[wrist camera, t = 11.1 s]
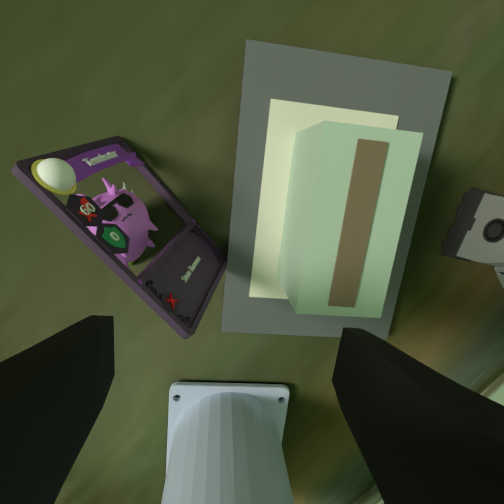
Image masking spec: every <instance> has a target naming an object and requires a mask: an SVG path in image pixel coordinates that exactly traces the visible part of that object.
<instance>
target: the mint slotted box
mask: <svg viewBox="0 0 504 504" xmlns="http://www.w3.org/2000/svg"><path fill="white" fill-rule="evenodd" d="M422 137H423V133H419V132H411V131H403V130H396V129H388V128H380V127H372V126H364V125H357V124H349V123H341V122H333V121H323V122H320V123H318V124H316V125H313V126H311V127H308V128H306V129H304V130H301V131H299V132H297V133H295V137H294V145H293V153H292V160H291V168H290V176H289V183H288V191H287V199H286V206H285V214H284V222H283V229H282V237H281V245H280V252H279V260H278V268H277V277H278V279H279V281H280V283H281V285H282V287H283V289H284V291H285V293H286V295H287V297H288V299H289V302H290V304H291V306H292V308H293V310H294V312H295V314H311V315H331V316H350V317H369V318H381V314H382V310H383V305H384V301H385V297H386V292H387V288H388V284H389V280H390V275H391V271H392V267H393V262H394V258H395V254H396V249H397V245H398V241H399V236H400V232H401V228H402V224H403V219H404V215H405V211H406V206H407V202H408V198H409V193H410V189H411V185H412V180H413V176H414V172H415V167H416V163H417V159H418V155H419V150H420V146H421V142H422Z"/></svg>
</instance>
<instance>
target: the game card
mask: <svg viewBox="0 0 504 504" xmlns="http://www.w3.org/2000/svg"><path fill="white" fill-rule="evenodd" d="M123 161H126V162H127V163H128V164H129V165H130V166H131V167H136V168H137V169H138V171H139V172H140V173H141V174H142V175H143V176H144V177H145V178H146V180H147V181H148V182H149V183H150V184H151V185H152V186H153V187H154V188H155V190H156V191H157V192H158V193H159V194H160V195H161V196H162V197H163V198H164V200H165V201H166V202H167V203H168V204H169V205H170V206H171V207H172V209H173V210H174V211H175V212H176V213H177V214H178V215H179V216H180V217H181V219H182V220H183V221H184V222H185V225H184V227H183V228H182V229H181V230H180V231H179V232H178V233H177V234H176V235H175V236H174V237H173V238H172V239H171V241H170V242H169V243H168V244H167V245H166V246H165V247H164V248H163V249H162V250H161V251H160V252H159V254H158V255H157V256H156V257H155V258H154V259H153V260H152V261H151V262H150V263H149V264H148V265H147V266H146V268H145V269H144V270H143V271H142V272H141V273H140V274H139V275H138V276H136V275H135V274H134V273H133V272H132V271H131V270H129V266H130V265H132V264H133V261H135V260H136V259H138V258H139V257H140V256H141V255H142V253H143V252H144V250H145V248H146V246H150V247H155V244H154V243H153V242H152V241H151V240H150V238H149V237H148V230H153V231H157V230H158V229H157V227H156V226H155V225H154V224H153V223H152V222H151V221H150V218H149V214H148V211H147V208H146V206H145V205H144V203H143V202H142V201H141V200H140V199H139V198H137V197H136V196H135V194H134V192H133V190H132V191H131V192H128V191H127V189H126V185H125V183H124V182H123V188H122V189H120V190H119V191H117V188H116V186H115V185H114V184H113V185H111V184H110V182H109V181H108V180H107V179H105V178H102V180H103V181H104V183H105V185H106V188H107V191H108V192H106V193H103V194H100V195H98V196H96V197H95V198H93V199H91V198H90V197H87V196H85V195H83V194H77V195H72V193H74V192H75V190H76V188H77V182H79V181H81V180H83V179H85V178H87V177H88V176H90V175H92V174H94V173H96V172H98V171H100V170H102V169H105V168H107V167H110V166H112V165H115V164H117V163H120V162H123ZM12 173H13V175H14V176H15V177H16V178H17V179H18V180H20V181H21V182H22V183H23V184H24V185H25V186H26V187H27V188H28V189H29V190H30V191H31V192H32V193H33V194H34V195H35V196H36V197H37V198H38V199H39V200H40V201H41V202H42V203H43V204H44V205H45V206H46V207H47V208H48V209H50V210H51V211H52V212H53V213H54V214H55V215H56V216H57V217H58V218H59V219H60V220H61V221H62V222H63V223H64V224H65V225H66V226H67V227H68V228H69V229H70V230H71V231H72V232H73V233H74V234H75V235H76V236H77V237H79V238H80V239H81V240H82V241H83V242H84V243H85V244H86V245H87V246H88V247H89V248H90V249H91V250H92V251H93V252H94V253H95V254H96V255H97V256H98V257H99V258H100V259H101V260H102V261H103V262H104V263H105V264H106V265H107V266H109V267H110V268H111V269H112V270H113V271H114V272H115V273H116V274H117V275H118V276H119V277H120V278H121V279H122V280H123V281H124V282H125V283H126V284H127V285H128V286H129V287H130V288H131V289H132V290H133V291H134V292H135V293H136V294H138V295H139V296H140V297H141V298H142V299H143V300H144V301H145V302H146V303H147V304H148V305H149V306H150V307H151V308H152V309H153V310H154V311H155V312H156V313H157V314H158V315H159V316H160V317H161V318H162V319H163V320H164V321H165V322H166V323H168V324H169V325H170V326H171V327H172V328H173V329H174V330H175V331H176V332H177V333H178V334H179V335H180V336H181V337H182V338H183V339H187V338H189V337H190V336H192V335H193V334H194V333H195V331H196V329H197V327H198V324H199V322H200V320H201V318H202V316H203V314H204V312H205V310H206V308H207V306H208V304H209V302H210V300H211V298H212V295H213V293H214V291H215V289H216V287H217V285H218V283H219V281H220V279H221V277H222V275H223V273H224V271H225V269H226V267H227V256H226V255H225V254H224V252H223V251H222V250H221V249H220V248H219V247H218V246H217V245H216V243H215V242H214V241H213V240H212V239H211V238H210V237H209V235H208V234H207V233H206V232H205V231H204V230H203V229H202V228H201V226H200V225H199V224H198V223H197V222H196V221H195V220H194V218H193V217H192V216H191V215H190V214H189V213H188V212H187V211H186V209H185V208H184V207H183V206H182V205H181V204H180V203H179V201H178V200H177V199H176V198H175V197H174V196H173V195H172V194H171V192H170V191H169V190H168V189H167V188H166V187H165V186H164V185H163V183H162V182H161V181H160V180H159V179H158V178H157V177H156V175H155V174H154V173H153V172H152V171H151V170H150V169H149V168H148V166H147V165H146V164H145V163H144V162H143V161H142V160H141V158H140V157H139V156H138V155H137V154H136V152H134V151H133V149H132V148H131V147H130V146H129V145H128V144H127V143H126V141H125V140H124V139H123V138H122V137H120V136H115V137H111V138H107V139H103V140H99V141H95V142H91V143H87V144H83V145H79V146H75V147H71V148H68V149H64V150H60V151H56V152H52V153H48V154H44V155H40V156H36V157H32V158H28V159H24V160H20V161H18V162H17V163H16V164H15V165H14V167H13V168H12ZM50 191H51V192H53V193H56V194H59V195H70V196H69V198H68V202H67V205H66V206H65V205H64V204H63V203H62V202H61V201H60V200H59V199H58V198H57V197H56V196H54V195H53V194H52V193H51V192H50Z"/></svg>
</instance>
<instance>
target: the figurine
mask: <svg viewBox="0 0 504 504" xmlns="http://www.w3.org/2000/svg"><path fill="white" fill-rule="evenodd" d="M462 201H463V202H464V203H463V205H461V206H460V207H458V209H457V211H456V213H457V215H458V217H457V219H456V221H455V223H454V225H453V226H451V227H450V228H449V229H448V235H449V237H448V238H446V239H445V240H444V241H443V243H442V246H443V250H442V253H441V254H442V255H445V256H449V257H453V258H456V259H461V260H465V261H470V262H471V260H472V261H475V262H479V263H483V264H486V265H492V266H495V267H494V270H495V272H496V274H497V276H498V278H499V281H500V283H501V285H502V287H503V289H504V197H501V196H499V195H496V194H493V193H490V192H487V191H483V190H480V189H476V188H473V187H470V190H469V192H466V193H465V194H464V195H463V197H462Z"/></svg>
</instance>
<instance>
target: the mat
mask: <svg viewBox="0 0 504 504" xmlns="http://www.w3.org/2000/svg"><path fill="white" fill-rule="evenodd" d="M451 76H452V71H446V70H439V69H433V68H426V67H420V66H414V65H407V64H401V63H395V62H388V61H382V60H375V59H369V58H363V57H356V56H350V55H343V54H337V53H331V52H324V51H318V50H312V49H305V48H299V47H292V46H286V45H280V44H273V43H267V42H261V41H254V40H248V39H247V40H246V47H245V58H244V70H243V81H242V93H241V104H240V116H239V127H238V139H237V150H236V162H235V173H234V185H233V196H232V208H231V219H230V231H229V242H228V254H227V267H226V277H225V288H224V300H223V311H222V323H221V332H236V333H258V334H280V335H302V336H324V337H341V335H342V330H343V327H345V328H362V329H364V330H366V331H368V332H370V333H372V334H374V335H375V336H377V337H379V338H381V339H387V338H388V334H389V330H390V326H391V321H392V317H393V313H394V309H395V305H396V301H397V297H398V293H399V289H400V285H401V281H402V277H403V272H404V268H405V264H406V260H407V256H408V252H409V248H410V244H411V240H412V236H413V232H414V228H415V223H416V219H417V215H418V211H419V207H420V203H421V199H422V195H423V191H424V187H425V183H426V179H427V174H428V170H429V166H430V162H431V158H432V154H433V150H434V146H435V142H436V138H437V134H438V129H439V125H440V121H441V117H442V113H443V109H444V105H445V101H446V97H447V93H448V89H449V85H450V80H451ZM323 121H333V122H341V123H349V124H357V125H364V126H372V127H380V128H388V129H396V130H403V131H411V132H419V133H423V137H422V142H421V146H420V150H419V155H418V159H417V163H416V167H415V172H414V176H413V180H412V185H411V189H410V193H409V198H408V202H407V206H406V211H405V215H404V219H403V224H402V228H401V232H400V236H399V241H398V245H397V249H396V254H395V258H394V262H393V267H392V271H391V275H390V280H389V284H388V288H387V292H386V297H385V301H384V305H383V310H382V314H381V318H369V317H350V316H331V315H311V314H295V312H294V310H293V308H292V306H291V304H290V302H289V299H288V297H287V295H286V293H285V291H284V289H283V287H282V285H281V283H280V281H279V279H278V277H277V268H278V260H279V252H280V245H281V237H282V229H283V222H284V214H285V206H286V199H287V191H288V183H289V176H290V168H291V160H292V153H293V145H294V137H295V133H297V132H299V131H301V130H304V129H306V128H308V127H311V126H313V125H316V124H318V123H320V122H323Z"/></svg>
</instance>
